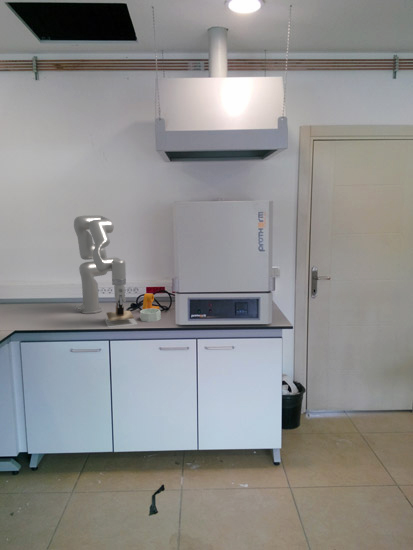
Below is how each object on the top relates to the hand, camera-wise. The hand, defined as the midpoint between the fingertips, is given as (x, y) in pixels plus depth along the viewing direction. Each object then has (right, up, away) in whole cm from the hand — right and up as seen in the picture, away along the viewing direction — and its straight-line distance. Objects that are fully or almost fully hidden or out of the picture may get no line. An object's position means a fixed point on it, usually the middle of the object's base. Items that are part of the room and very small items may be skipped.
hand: (119, 312), depth 218 cm
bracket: (+15, -2, +22) cm, 27 cm away
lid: (0, -2, 0) cm, 2 cm away
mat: (+1, -6, 0) cm, 6 cm away
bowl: (+16, -5, +6) cm, 18 cm away
